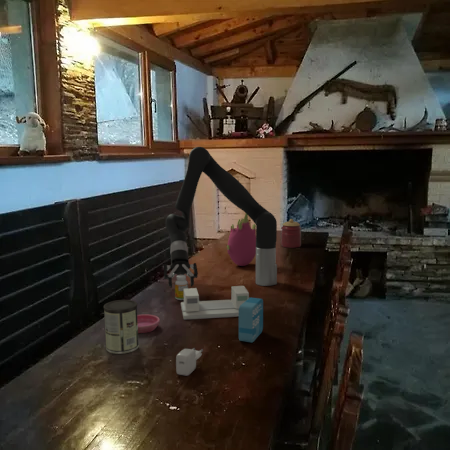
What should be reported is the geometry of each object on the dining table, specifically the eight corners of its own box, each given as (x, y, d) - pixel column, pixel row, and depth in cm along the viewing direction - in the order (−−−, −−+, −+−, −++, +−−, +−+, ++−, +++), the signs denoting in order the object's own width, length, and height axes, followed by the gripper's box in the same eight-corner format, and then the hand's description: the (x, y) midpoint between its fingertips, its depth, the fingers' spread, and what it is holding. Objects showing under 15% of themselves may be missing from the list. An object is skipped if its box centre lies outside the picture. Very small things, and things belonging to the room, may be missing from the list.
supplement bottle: (175, 296, 205) (174, 274, 204) (188, 296, 206) (187, 274, 204) (175, 300, 200) (174, 277, 199) (188, 300, 201) (187, 277, 199)
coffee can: (116, 339, 159) (115, 298, 157) (144, 343, 156) (143, 301, 154) (98, 351, 150) (96, 307, 148) (128, 356, 146) (126, 311, 144)
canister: (281, 243, 319) (281, 217, 316) (300, 244, 317) (301, 217, 314) (280, 247, 306) (280, 220, 303) (301, 248, 304) (301, 220, 301)
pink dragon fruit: (253, 261, 268) (253, 208, 264) (262, 267, 256) (262, 210, 251) (222, 264, 263) (222, 209, 258) (230, 270, 250) (230, 212, 246)
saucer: (125, 337, 162) (125, 328, 161) (122, 324, 174) (122, 315, 173) (162, 333, 165) (162, 324, 165) (157, 320, 177) (157, 312, 176)
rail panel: (244, 302, 197) (244, 283, 196) (253, 315, 181) (253, 295, 180) (180, 305, 193) (180, 286, 192) (183, 319, 178) (183, 298, 176)
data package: (251, 344, 155) (251, 308, 153) (238, 342, 157) (238, 306, 155) (263, 331, 166) (263, 297, 164) (250, 329, 168) (250, 296, 166)
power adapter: (191, 358, 144) (190, 340, 143) (206, 361, 143) (205, 342, 142) (173, 374, 134) (173, 354, 133) (189, 377, 132) (189, 357, 131)
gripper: (162, 249, 206) (164, 282, 197) (196, 248, 208) (199, 281, 199) (162, 258, 212) (164, 291, 203) (195, 257, 214) (198, 289, 205)
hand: (181, 286), depth 201 cm, fingers open, 8 cm apart
